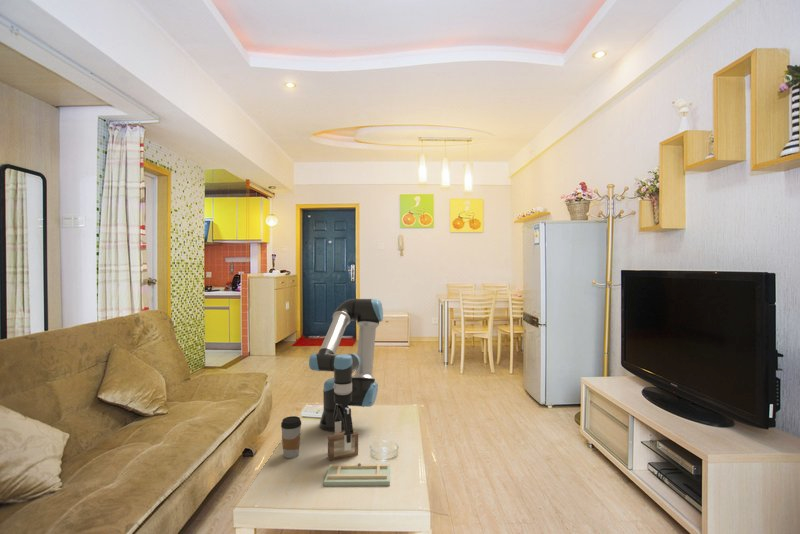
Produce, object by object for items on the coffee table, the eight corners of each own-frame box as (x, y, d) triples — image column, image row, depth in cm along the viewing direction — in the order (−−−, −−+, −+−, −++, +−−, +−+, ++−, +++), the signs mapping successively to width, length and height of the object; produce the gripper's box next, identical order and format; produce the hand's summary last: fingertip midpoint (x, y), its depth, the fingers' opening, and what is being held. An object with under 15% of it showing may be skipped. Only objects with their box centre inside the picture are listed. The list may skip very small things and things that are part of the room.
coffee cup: (295, 460, 159) (295, 424, 159) (277, 458, 161) (277, 422, 161) (304, 451, 168) (304, 416, 167) (287, 449, 169) (286, 415, 169)
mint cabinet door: (329, 468, 153) (329, 461, 153) (390, 468, 154) (390, 460, 154) (324, 485, 141) (323, 477, 141) (389, 485, 142) (389, 477, 142)
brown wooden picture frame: (327, 456, 163) (327, 435, 163) (355, 451, 168) (355, 430, 168) (330, 461, 159) (330, 439, 159) (358, 455, 164) (358, 434, 164)
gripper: (326, 385, 173) (326, 433, 173) (343, 402, 150) (343, 457, 150) (342, 383, 176) (342, 430, 176) (361, 400, 154) (361, 453, 153)
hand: (342, 443), depth 163 cm, fingers open, 13 cm apart
